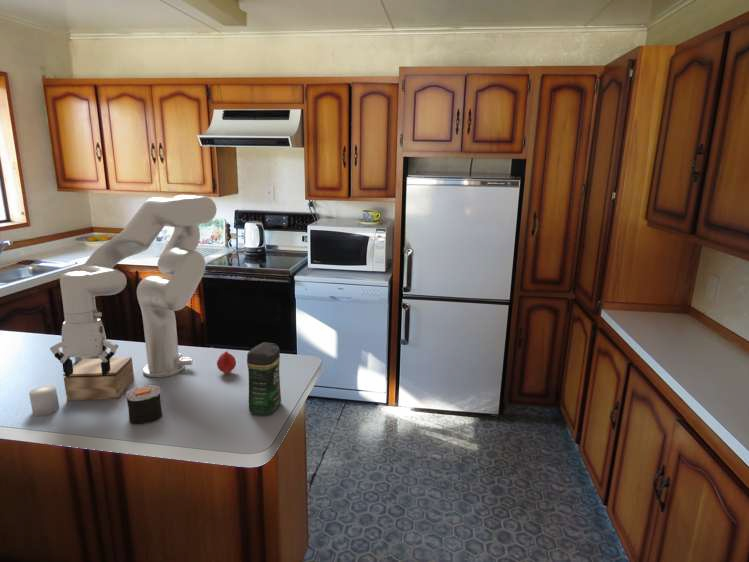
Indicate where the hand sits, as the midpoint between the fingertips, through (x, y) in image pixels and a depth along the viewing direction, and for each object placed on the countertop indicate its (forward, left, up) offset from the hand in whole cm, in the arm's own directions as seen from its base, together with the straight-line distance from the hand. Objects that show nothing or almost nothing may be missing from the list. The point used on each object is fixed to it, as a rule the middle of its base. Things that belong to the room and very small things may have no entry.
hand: (87, 374), depth 132 cm
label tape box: (+14, -31, -8) cm, 35 cm away
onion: (-35, -14, -8) cm, 39 cm away
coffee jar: (-50, +9, -8) cm, 52 cm away
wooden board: (0, -6, -1) cm, 6 cm away
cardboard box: (0, -6, -8) cm, 10 cm away
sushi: (-18, +11, -8) cm, 23 cm away
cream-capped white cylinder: (+10, +5, -8) cm, 14 cm away
